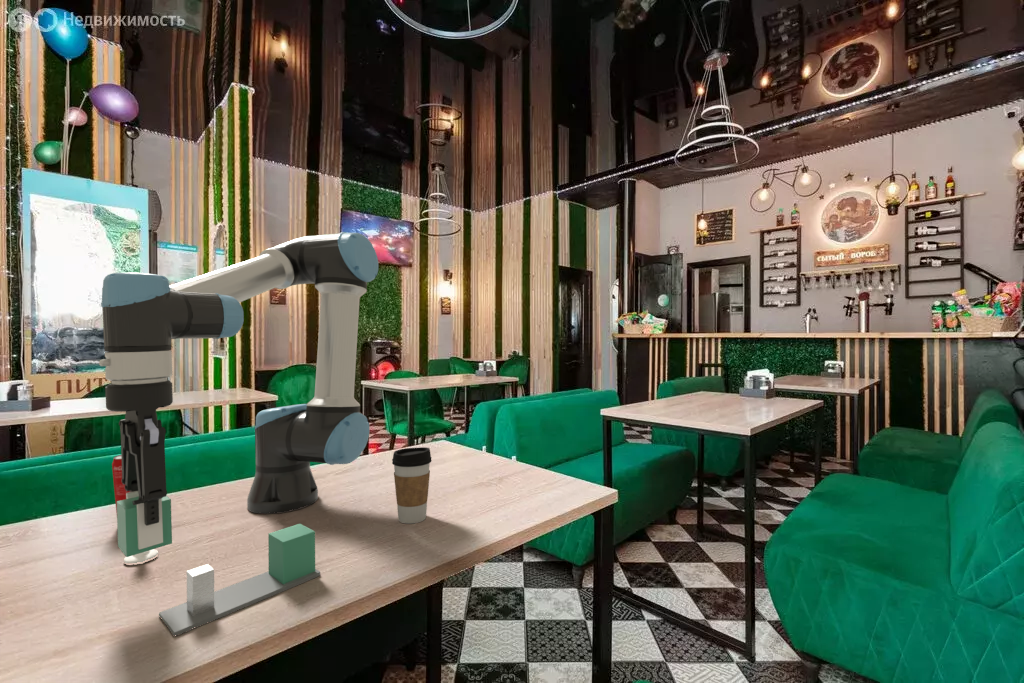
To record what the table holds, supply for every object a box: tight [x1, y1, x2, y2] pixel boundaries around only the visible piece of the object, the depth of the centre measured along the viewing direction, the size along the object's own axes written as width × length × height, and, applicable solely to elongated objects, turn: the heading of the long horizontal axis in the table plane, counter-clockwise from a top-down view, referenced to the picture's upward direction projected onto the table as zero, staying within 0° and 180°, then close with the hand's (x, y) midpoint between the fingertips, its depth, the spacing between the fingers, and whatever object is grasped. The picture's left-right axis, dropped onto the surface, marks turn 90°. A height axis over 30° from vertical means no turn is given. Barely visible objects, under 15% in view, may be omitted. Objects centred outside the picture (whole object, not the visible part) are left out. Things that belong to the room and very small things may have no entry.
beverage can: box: [111, 454, 130, 514], centre depth 97 cm, size 6×6×15 cm
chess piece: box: [123, 549, 159, 563], centre depth 81 cm, size 5×5×10 cm
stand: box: [158, 523, 321, 637], centre depth 70 cm, size 7×20×7 cm, turn 141°
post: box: [186, 563, 215, 616], centre depth 65 cm, size 3×3×6 cm
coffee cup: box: [391, 446, 433, 525], centre depth 99 cm, size 8×8×15 cm
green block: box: [116, 495, 173, 557], centre depth 67 cm, size 5×5×7 cm
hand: (145, 539), depth 67 cm, fingers closed on green block, 5 cm apart
